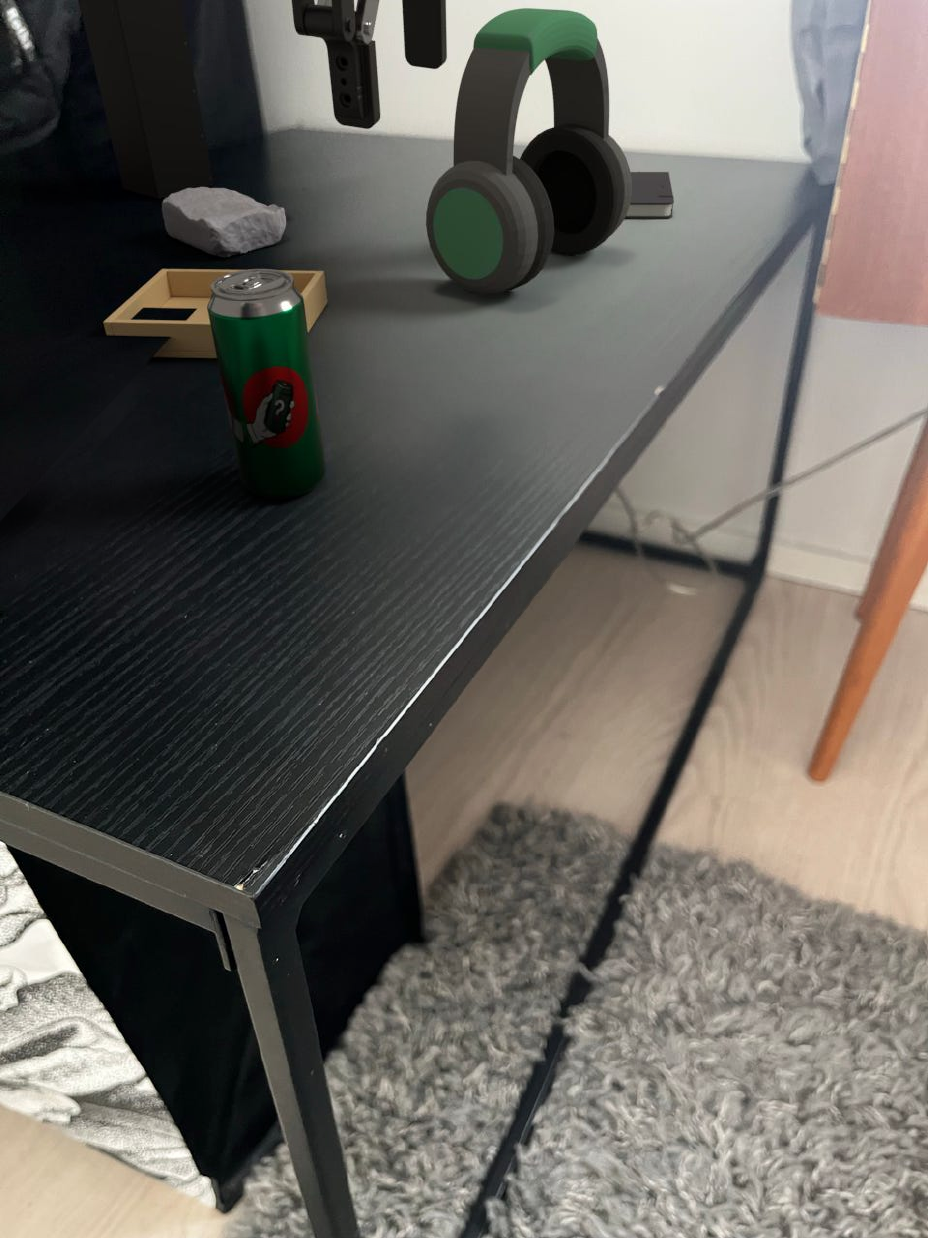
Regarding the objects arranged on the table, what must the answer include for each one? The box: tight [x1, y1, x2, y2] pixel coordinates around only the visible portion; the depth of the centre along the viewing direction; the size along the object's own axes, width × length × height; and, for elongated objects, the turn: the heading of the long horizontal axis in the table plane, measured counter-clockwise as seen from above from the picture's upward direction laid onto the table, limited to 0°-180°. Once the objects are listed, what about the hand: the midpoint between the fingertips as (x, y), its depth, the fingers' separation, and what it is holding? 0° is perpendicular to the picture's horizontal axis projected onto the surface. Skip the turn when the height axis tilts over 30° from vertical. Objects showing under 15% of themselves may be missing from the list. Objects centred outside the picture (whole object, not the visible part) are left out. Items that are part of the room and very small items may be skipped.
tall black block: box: [77, 0, 215, 200], centre depth 103 cm, size 8×8×28 cm
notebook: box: [624, 171, 675, 219], centre depth 102 cm, size 13×2×21 cm
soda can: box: [207, 268, 327, 501], centre depth 53 cm, size 5×5×12 cm
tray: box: [102, 268, 329, 359], centre depth 76 cm, size 14×12×3 cm
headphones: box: [425, 7, 632, 295], centre depth 79 cm, size 19×11×20 cm, turn 143°
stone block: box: [161, 187, 287, 259], centre depth 95 cm, size 12×5×10 cm
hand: (393, 93), depth 49 cm, fingers open, 8 cm apart
